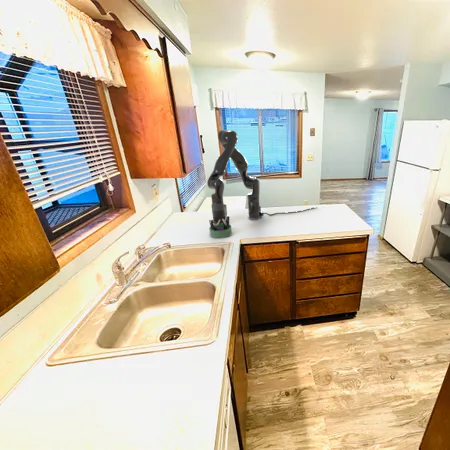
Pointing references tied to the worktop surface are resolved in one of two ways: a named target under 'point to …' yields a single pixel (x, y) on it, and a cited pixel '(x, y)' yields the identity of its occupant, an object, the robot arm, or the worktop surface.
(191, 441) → the worktop surface
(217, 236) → the bowl
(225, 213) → the coffee box
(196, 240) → the worktop surface
